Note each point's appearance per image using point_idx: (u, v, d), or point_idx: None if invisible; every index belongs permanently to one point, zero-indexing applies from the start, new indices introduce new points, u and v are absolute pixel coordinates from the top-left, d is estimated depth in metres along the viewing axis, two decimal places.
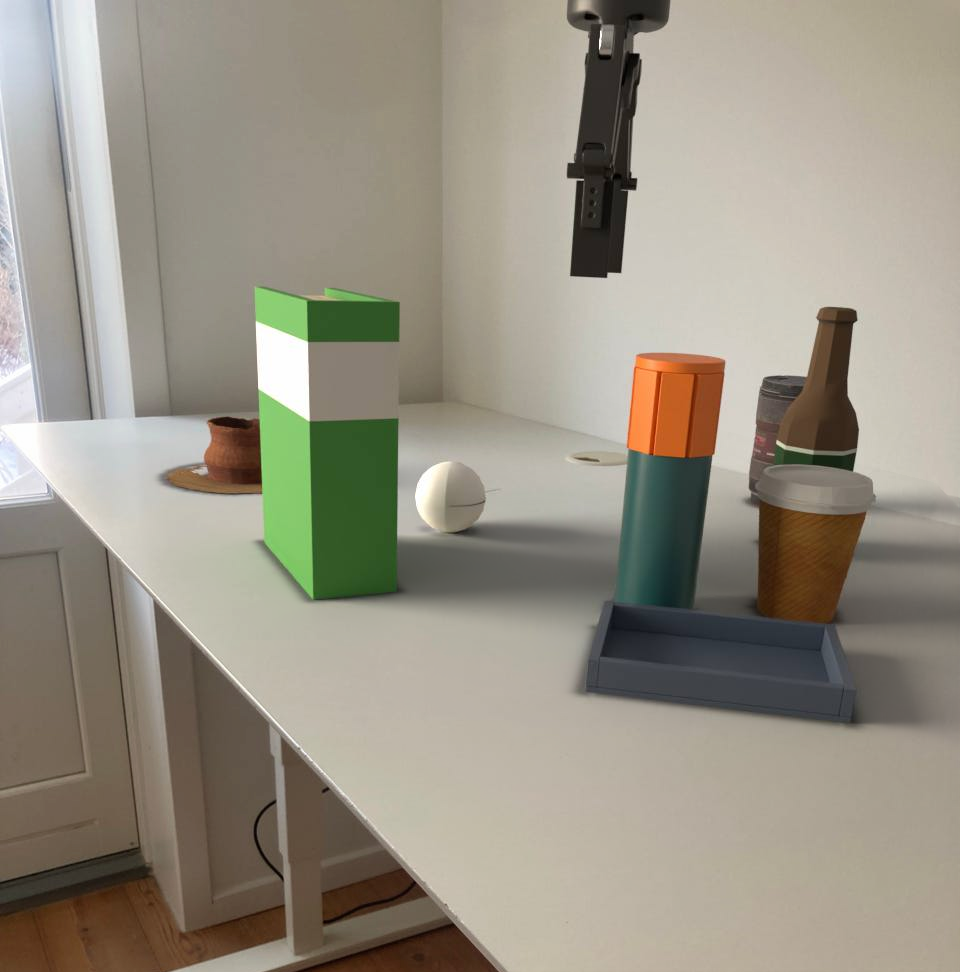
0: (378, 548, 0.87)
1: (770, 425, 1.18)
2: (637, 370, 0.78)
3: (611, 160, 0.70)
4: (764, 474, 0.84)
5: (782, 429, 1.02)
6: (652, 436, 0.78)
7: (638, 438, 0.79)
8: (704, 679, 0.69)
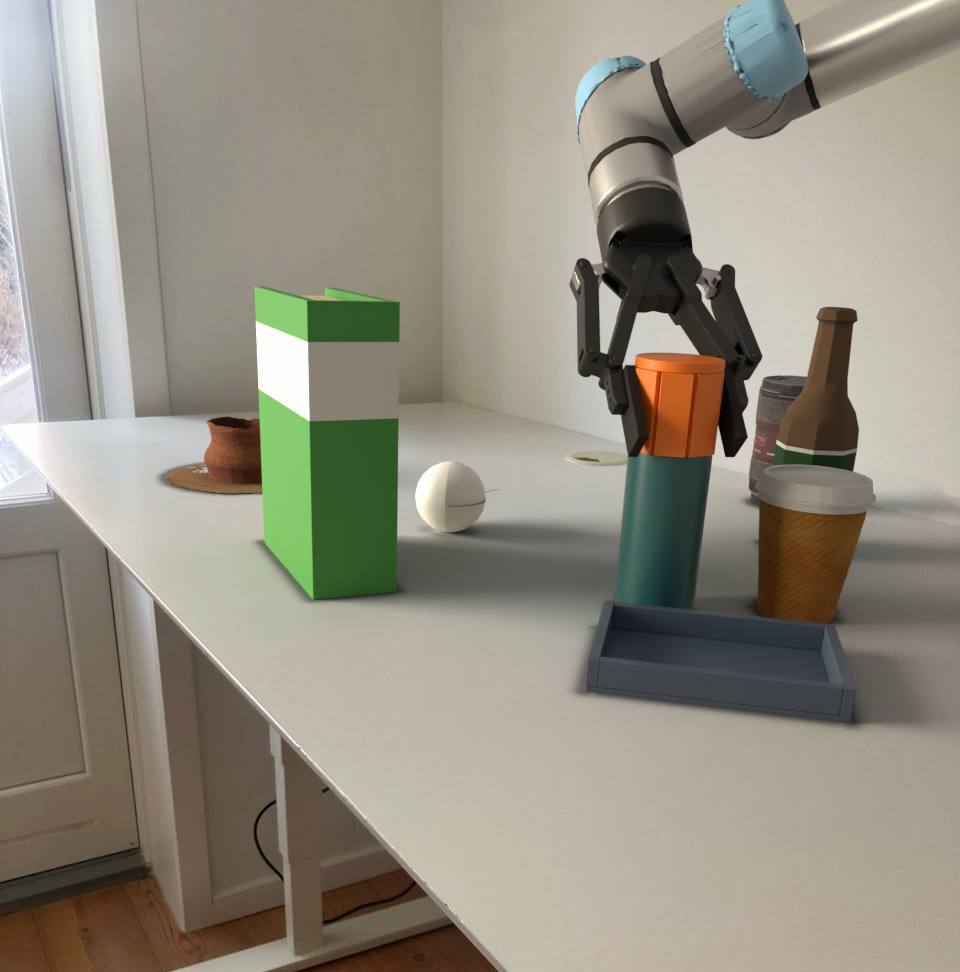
0: (378, 548, 0.87)
1: (770, 425, 1.18)
2: (637, 370, 0.78)
3: (591, 353, 0.78)
4: (764, 474, 0.84)
5: (782, 429, 1.02)
6: (652, 436, 0.78)
7: None
8: (704, 679, 0.69)
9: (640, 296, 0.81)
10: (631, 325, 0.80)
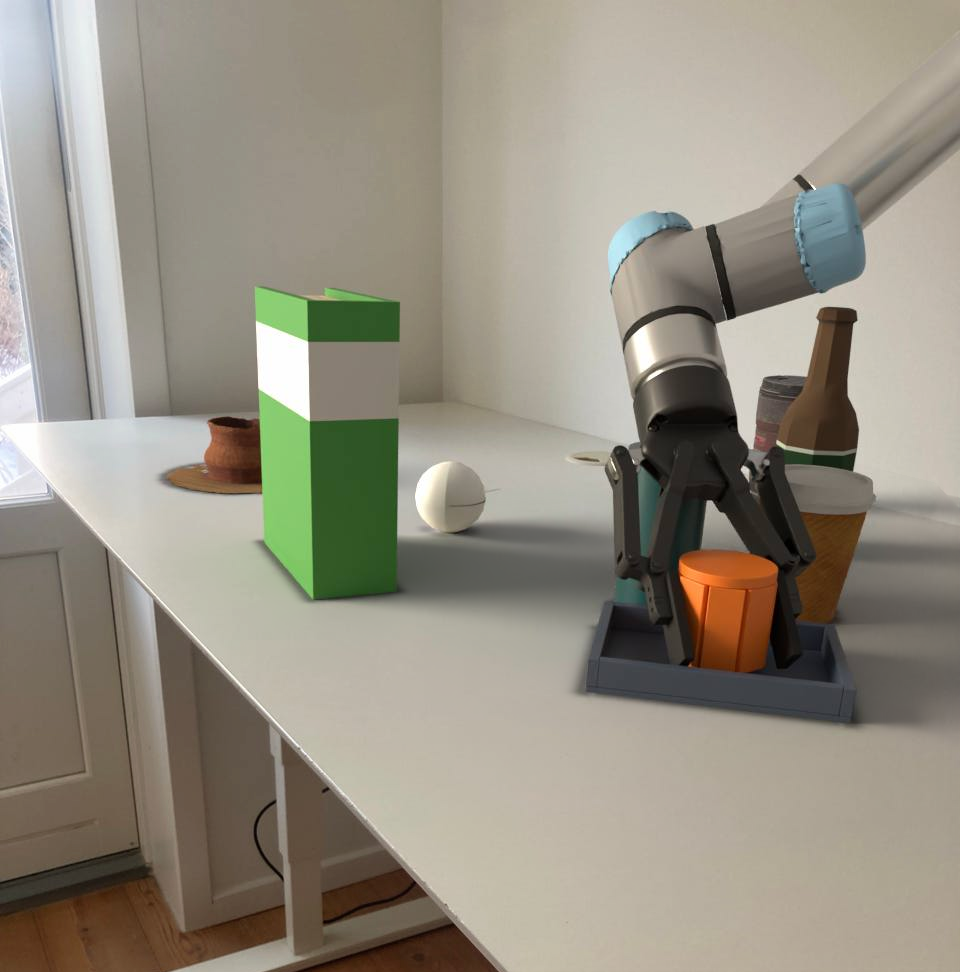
0: (378, 548, 0.87)
1: (770, 425, 1.18)
2: (681, 579, 0.71)
3: (631, 559, 0.71)
4: None
5: (782, 429, 1.02)
6: (698, 650, 0.71)
7: None
8: (704, 679, 0.69)
9: (683, 490, 0.74)
10: (674, 523, 0.73)
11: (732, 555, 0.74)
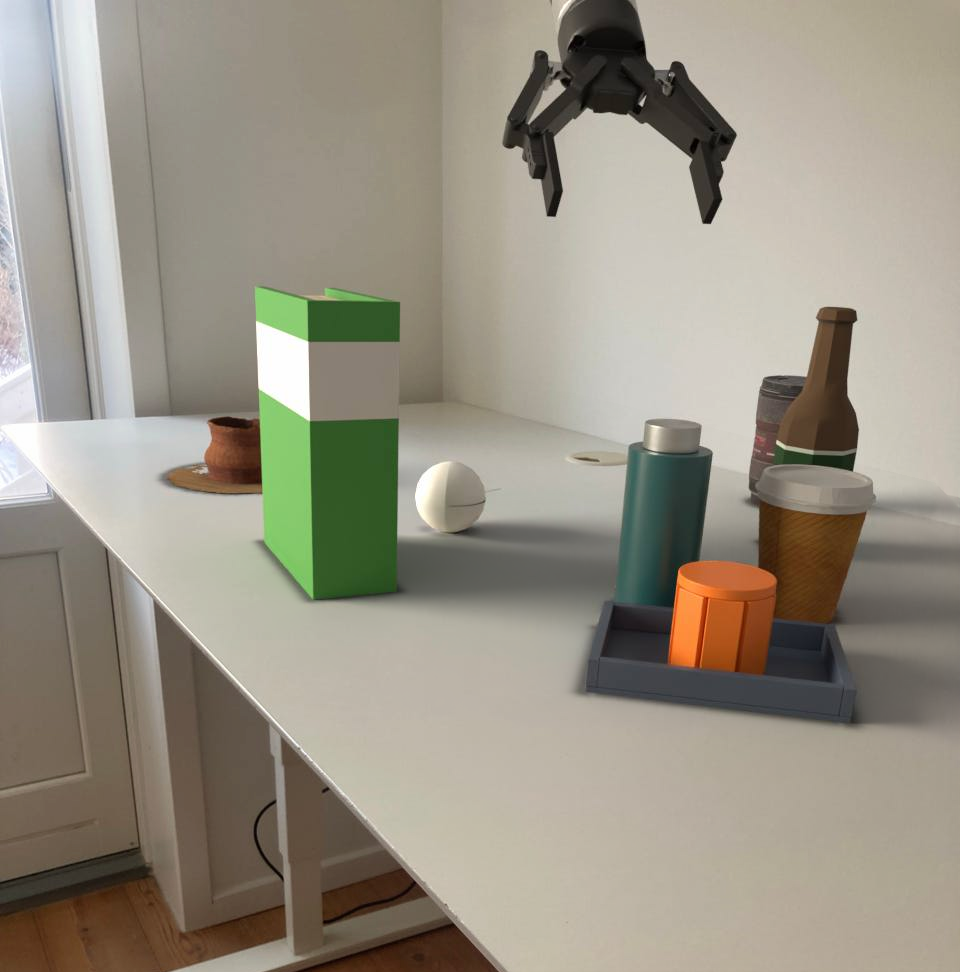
0: (379, 548, 0.87)
1: (770, 425, 1.18)
2: (680, 590, 0.72)
3: (511, 120, 0.85)
4: (764, 474, 0.84)
5: (782, 429, 1.02)
6: (697, 662, 0.72)
7: (681, 661, 0.73)
8: (704, 679, 0.69)
9: (582, 87, 0.87)
10: (563, 107, 0.86)
11: (731, 566, 0.74)
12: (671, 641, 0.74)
